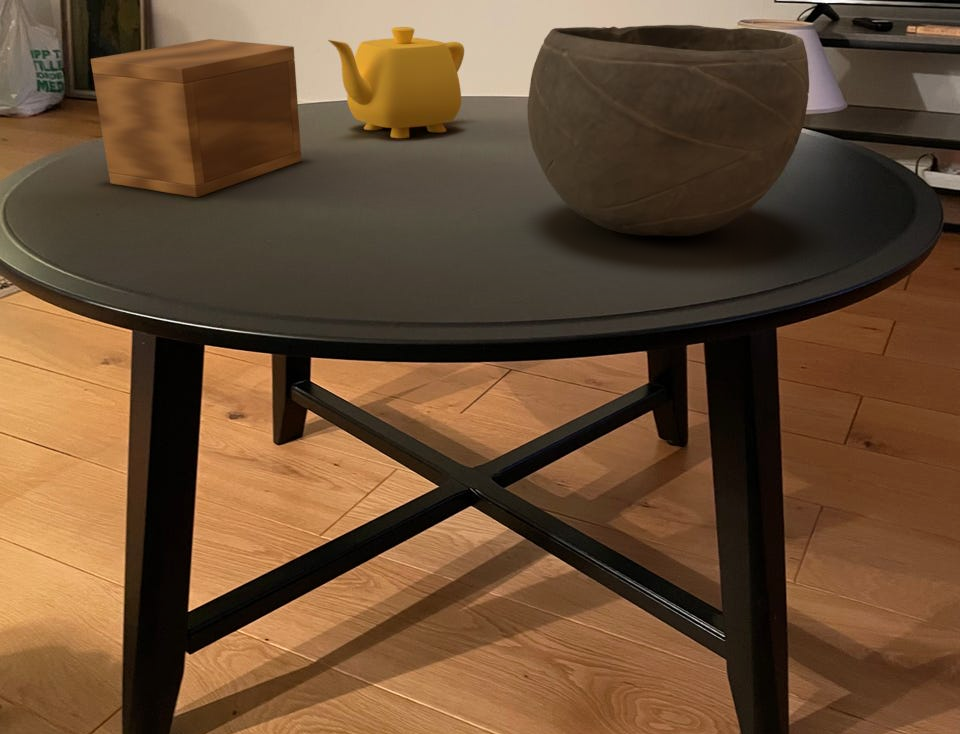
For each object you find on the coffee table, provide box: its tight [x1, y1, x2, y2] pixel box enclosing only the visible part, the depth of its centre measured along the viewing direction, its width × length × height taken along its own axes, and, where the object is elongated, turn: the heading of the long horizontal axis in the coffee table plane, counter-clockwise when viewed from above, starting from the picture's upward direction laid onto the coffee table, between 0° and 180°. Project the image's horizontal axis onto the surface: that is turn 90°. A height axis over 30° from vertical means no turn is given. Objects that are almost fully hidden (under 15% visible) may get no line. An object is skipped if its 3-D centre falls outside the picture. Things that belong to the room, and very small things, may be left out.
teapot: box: [327, 26, 465, 139], centre depth 114 cm, size 18×11×11 cm, turn 130°
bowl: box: [527, 24, 810, 237], centre depth 81 cm, size 21×21×15 cm
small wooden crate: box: [90, 38, 302, 198], centre depth 95 cm, size 10×16×11 cm, turn 154°
